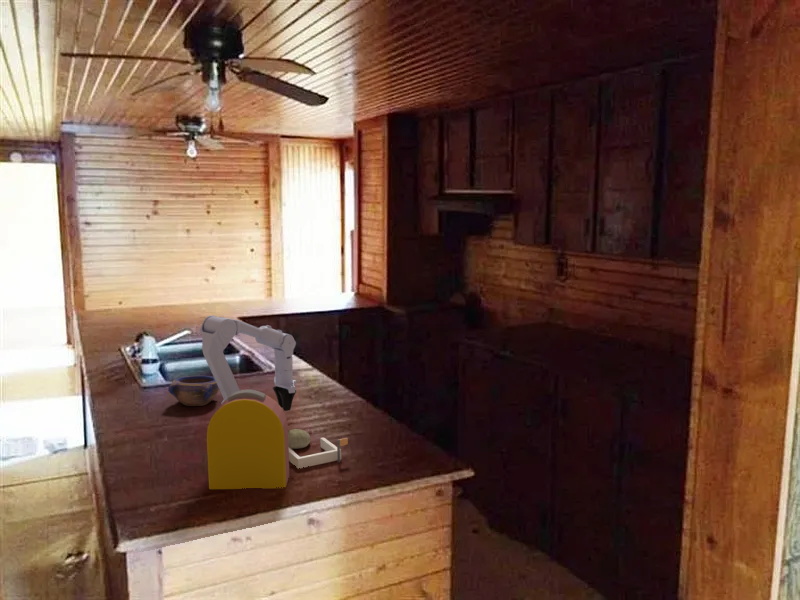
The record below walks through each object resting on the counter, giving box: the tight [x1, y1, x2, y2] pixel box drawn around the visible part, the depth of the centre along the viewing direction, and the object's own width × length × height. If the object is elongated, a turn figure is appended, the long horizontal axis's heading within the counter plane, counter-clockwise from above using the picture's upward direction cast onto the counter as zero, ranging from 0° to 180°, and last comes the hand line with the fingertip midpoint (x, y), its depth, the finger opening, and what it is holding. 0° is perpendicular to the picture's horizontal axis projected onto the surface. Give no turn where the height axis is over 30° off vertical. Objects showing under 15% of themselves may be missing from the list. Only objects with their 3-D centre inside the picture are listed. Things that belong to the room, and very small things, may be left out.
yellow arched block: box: [206, 388, 290, 490], centre depth 187 cm, size 21×9×26 cm, turn 92°
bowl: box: [167, 375, 220, 407], centre depth 261 cm, size 18×18×10 cm
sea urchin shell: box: [288, 428, 311, 450], centre depth 217 cm, size 9×8×8 cm
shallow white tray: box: [289, 437, 349, 470], centre depth 206 cm, size 16×14×7 cm
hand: (284, 408), depth 224 cm, fingers open, 3 cm apart
